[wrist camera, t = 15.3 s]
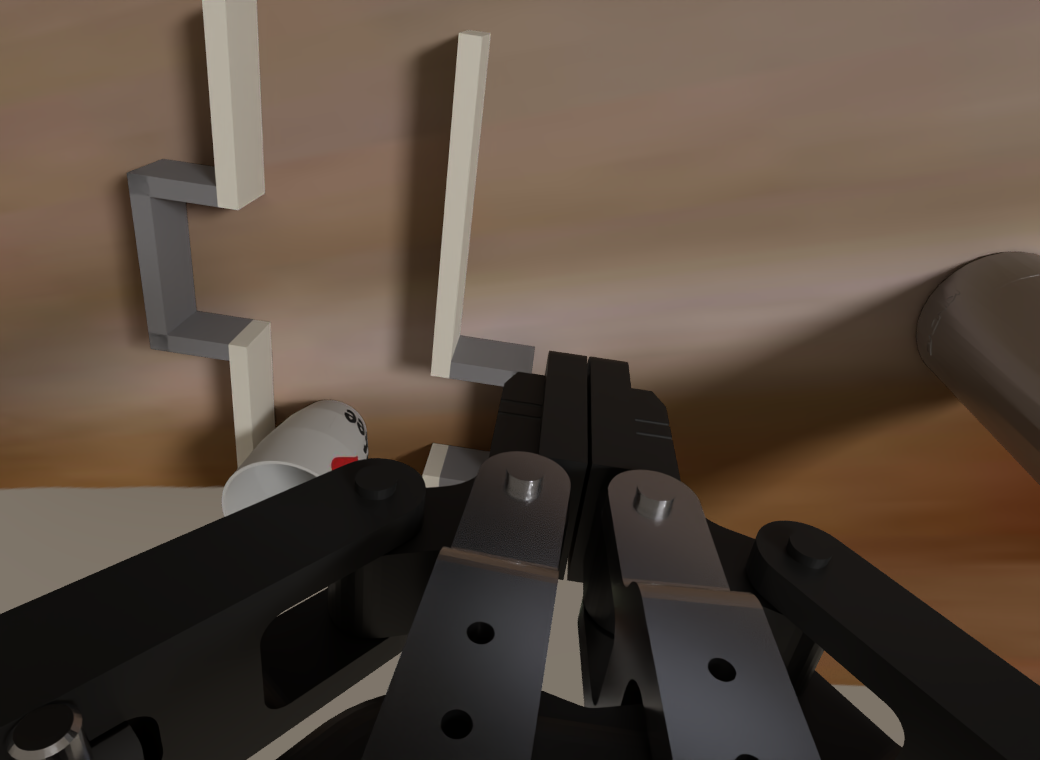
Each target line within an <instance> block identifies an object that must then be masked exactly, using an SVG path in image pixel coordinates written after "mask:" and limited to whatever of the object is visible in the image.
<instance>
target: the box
mask: <svg viewBox="0 0 1040 760" xmlns="http://www.w3.org/2000/svg"><path fill="white" fill-rule="evenodd" d="M202 6H203V19H204V32H205V45H206V58H207V71H208V84H209V97H210V110H211V124H212V137H213V150H214V163H215V167H213V166H206V165H200V164H193V163H187V162H180V161H174V160H167V159H161V160H158V161H156V162H153V163H151V164H148V165H146V166H143V167H140V168H138V169H135V170H133V171H130V172H128V173H127V178H128V186H129V193H130V200H131V208H132V215H133V222H134V229H135V237H136V244H137V251H138V259H139V266H140V273H141V281H142V288H143V295H144V303H145V310H146V317H147V325H148V332H149V339H150V347H151V349H155V350H161V351H168V352H175V353H181V354H188V355H194V356H201V357H207V358H214V359H220V360H227V361H230V373H231V386H232V399H233V412H234V425H235V438H236V452H237V465H238V468H239V467H240V465H241V464H242V463H243V462H244V461H245V460H246V458H247V457H248V456H249V455H250V454H251V452H252V451H253V450H254V449H255V448H256V447H257V445H258V444H259V443H260V442H261V441H262V440H263V439H264V438H265V437H266V436H268V435H269V434H270V433H271V432H272V431H273V430H274V429H275V415H274V392H273V368H272V345H271V322H266V321H259V320H253V319H246V318H240V317H233V316H227V315H220V314H213V313H207V312H200V311H196V301H195V291H194V281H193V270H192V260H191V250H190V240H189V230H188V220H187V209H186V202H188V203H194V204H201V205H207V206H214V207H221V208H227V209H234V210H239V209H241V208H243V207H244V206H246V205H247V204H249V203H251V202H252V201H254V200H255V199H257V198H259V197H260V196H262V195H263V194H265V182H264V158H263V135H262V112H261V88H260V65H259V42H258V19H257V0H202ZM490 36H491V33H487V32H481V31H474V30H467V31H464V32H461V33H459V38H458V50H457V62H456V75H455V87H454V99H453V111H452V123H451V135H450V148H449V160H448V172H447V184H446V196H445V208H444V221H443V233H442V245H441V257H440V269H439V281H438V294H437V306H436V318H435V330H434V342H433V354H432V367H431V376H438V377H444V378H451V379H457V380H464V381H470V382H477V383H483V384H490V385H497V386H503V387H504V383H505V382H506V381H508V380H509V379H510V378H511V377H512V376H513V375H515V374H516V373H517V372H524V373H531V374H532V366H533V358H534V350H535V347H532V346H526V345H519V344H513V343H506V342H500V341H493V340H487V339H480V338H473V337H467V336H460V330H461V320H462V311H463V301H464V291H465V281H466V271H467V262H468V252H469V242H470V232H471V222H472V213H473V203H474V193H475V183H476V173H477V164H478V154H479V144H480V134H481V125H482V115H483V105H484V95H485V85H486V76H487V66H488V56H489V46H490ZM489 454H490V452H489V451H482V450H476V449H469V448H463V447H456V446H449V445H443V444H436V443H433V444H432V447H431V450H430V454H429V457H428V460H427V463H426V466H425V469H424V472H423V476H422V478H423V480H424V482H425V486H426V488H428V487H442V486H451V485H456V484H460V483H463V482H466V481H468V480H470V479H472V478H474V477H476V476H477V473H478V471H479V468H480V467H481V465H482V464H483V463H484V461H486V460H487V459H488V458H489Z"/></svg>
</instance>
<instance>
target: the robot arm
mask: <svg viewBox="0 0 1040 760" xmlns="http://www.w3.org/2000/svg"><path fill="white" fill-rule="evenodd" d="M916 340H917V346H918V351H919V353H920V355H921V357H922V359H923V361H924V362H925V363H926V365H927V366H928V367H929V368H930V369H931V370H932V371H933V372H934V373H935V374H936V375H937V377H938V378H939V379H940V380H941V381H942V382H943V383H944V384H945V385H946V386H947V387H948V388H949V389H950V390H951V392H952V393H953V394H954V395H955V396H956V397H957V398H958V399H959V400H960V401H961V403H962V404H963V405H964V406H965V407H966V408H967V409H968V410H969V411H970V412H971V413H972V414H973V415H974V416H975V417H976V418H977V419H978V420H979V422H980V423H981V424H982V425H983V426H984V427H985V428H986V429H987V430H988V431H989V432H990V433H991V434H992V435H993V436H994V437H995V438H996V439H997V441H998V442H999V443H1000V444H1001V445H1002V446H1003V447H1004V448H1005V449H1006V450H1007V451H1008V452H1009V453H1010V454H1011V455H1012V456H1013V457H1014V458H1015V460H1016V461H1017V462H1018V463H1019V464H1020V465H1021V466H1022V467H1023V468H1024V469H1025V470H1026V471H1027V472H1028V473H1029V474H1030V475H1031V476H1032V477H1033V478H1034V480H1035V481H1036V482H1037V483H1038V484H1039V485H1040V256H1039V255H1037V254H1031V253H1025V252H1003V253H999V254H994V255H990V256H986V257H983V258H981V259H978V260H976V261H973V262H971V263H969V264H967V265H965V266H964V267H962V268H960V269H959V270H957V271H956V272H954V273H953V274H952V275H950V276H949V277H948V278H947V279H946V280H944V281H943V282H942V283H941V284H940V285H939V286H938V287H937V289H936V290H935V291H934V292H933V293H932V295H931V296H930V297H929V299H928V300H927V302H926V304H925V306H924V307H923V309H922V311H921V314H920V318H919V321H918V324H917V333H916ZM671 438H672V435H671V430H670V427H669V420H668V415H667V410H666V407H665V406H664V404H663V403H662V402H661V401H660V400H659V399H658V398H657V396H656V395H655V394H654V393H653V392H652V391H646V390H640V389H633V388H631V382H630V374H629V366H628V362H623V361H617V360H610V359H603V358H596V357H589V359H588V363H587V356H582V355H575V354H569V353H562V352H555V351H549V354H548V359H547V365H546V372H545V375H538V374H531V373H524V372H517V373H516V374H515V375H513V376H512V377H511V378H510V379H509V380H508V381H506V382H505V383H504V387H503V392H502V397H501V402H500V406H499V411H498V416H497V420H496V425H495V430H494V435H493V439H492V444H491V449H490V454H489V458H488V459H487V460H486V461H484V463H483V464H482V465H481V467H480V468H479V471H478V473H477V476H476V477H474V478H472V479H470V480H468V481H466V482H463V483H460V484H456V485H451V486H442V487H428V488H426V486H425V482H424V480H423V478H422V476H421V475H420V474H419V473H418V472H417V471H416V470H415V469H413V468H412V467H410V466H408V465H406V464H404V463H401V462H398V461H395V460H390V459H381V458H371V459H362V460H358V461H354V462H351V463H348V464H346V465H343V466H341V467H339V468H336V469H334V470H332V471H329V472H327V473H325V474H323V475H320V476H318V477H316V478H313V479H311V480H309V481H306V482H304V483H302V484H299V485H297V486H295V487H293V488H290V489H288V490H286V491H283V492H281V493H279V494H276V495H274V496H272V497H269V498H267V499H265V500H263V501H260V502H258V503H256V504H253V505H251V506H249V507H246V508H244V509H242V510H239V511H237V512H235V513H233V514H230V515H228V516H226V517H224V518H221V519H219V520H217V521H214V522H212V523H209V524H207V525H205V526H203V527H200V528H198V529H196V530H193V531H191V532H189V533H187V534H184V535H182V536H180V537H177V538H175V539H173V540H170V541H168V542H166V543H163V544H161V545H159V546H157V547H154V548H152V549H150V550H147V551H145V552H143V553H140V554H138V555H136V556H133V557H131V558H129V559H126V560H124V561H122V562H119V563H117V564H115V565H113V566H110V567H108V568H106V569H103V570H101V571H99V572H96V573H94V574H92V575H89V576H87V577H85V578H83V579H80V580H78V581H76V582H73V583H71V584H69V585H67V586H64V587H62V588H60V589H57V590H55V591H53V592H50V593H48V594H46V595H43V596H41V597H39V598H36V599H34V600H32V601H29V602H27V603H25V604H23V605H20V606H18V607H16V608H13V609H11V610H9V611H6V612H4V613H2V614H0V760H247V759H248V758H249V757H251V756H252V755H254V754H255V753H257V752H258V751H260V750H261V749H262V748H264V747H265V746H267V745H268V744H270V743H271V742H272V741H274V740H275V739H277V738H278V737H280V736H281V735H283V734H284V733H285V732H287V731H288V730H290V729H291V728H293V727H294V726H295V725H297V724H298V723H300V722H301V721H303V720H304V719H305V718H307V717H308V716H310V715H311V714H313V713H314V712H316V711H317V710H319V709H320V708H322V707H323V706H324V705H326V704H327V703H329V702H330V701H331V700H333V699H334V698H336V697H337V696H339V695H340V694H342V693H343V692H345V691H346V690H347V689H349V688H350V687H352V686H353V685H354V684H356V683H357V682H359V681H360V680H362V679H363V678H365V677H366V676H368V675H369V674H370V673H372V672H373V671H375V670H376V669H378V668H379V667H380V666H382V665H383V664H385V663H386V662H388V661H389V660H391V659H392V658H393V657H395V656H396V655H398V654H399V653H400V652H402V653H401V656H400V658H399V661H398V664H397V666H396V669H395V671H394V674H393V677H392V679H391V682H390V685H389V687H388V690H387V693H386V695H383V696H380V697H377V698H374V699H371V700H368V701H365V702H363V703H360V704H358V705H356V706H354V707H351V708H349V709H347V710H345V711H343V712H342V713H340V714H338V715H337V716H335V717H333V718H331V719H330V720H328V721H327V722H325V723H324V724H322V725H321V726H320V727H318V728H317V729H315V730H314V731H313V732H311V733H310V734H309V735H307V736H306V737H305V738H304V739H302V740H301V741H300V742H298V743H297V744H296V745H294V746H293V747H292V748H290V749H289V750H288V751H287V752H285V753H284V754H283V755H281V756H280V757H279V758H277V759H276V760H1040V686H1039V685H1038V684H1036V683H1035V682H1033V681H1032V680H1031V679H1029V678H1028V677H1027V676H1025V675H1024V674H1022V673H1021V672H1020V671H1018V670H1017V669H1016V668H1014V667H1013V666H1011V665H1010V664H1009V663H1007V662H1006V661H1004V660H1003V659H1002V658H1000V657H999V656H998V655H996V654H995V653H993V652H992V651H991V650H989V649H988V648H986V647H985V646H984V645H982V644H981V643H980V642H978V641H977V640H975V639H974V638H973V637H971V636H970V635H968V634H967V633H966V632H964V631H963V630H962V629H960V628H959V627H957V626H956V625H955V624H953V623H952V622H951V621H949V620H948V619H946V618H945V617H944V616H942V615H941V614H939V613H938V612H937V611H935V610H934V609H933V608H931V607H930V606H928V605H927V604H926V603H924V602H923V601H921V600H920V599H919V598H917V597H916V596H915V595H913V594H912V593H910V592H909V591H908V590H906V589H905V588H903V587H902V586H901V585H899V584H898V583H897V582H895V581H894V580H892V579H891V578H890V577H888V576H887V575H886V574H884V573H883V572H881V571H880V570H879V569H877V568H876V567H874V566H873V565H872V564H870V563H869V562H868V561H866V560H865V559H863V558H862V557H861V556H859V555H858V554H856V553H855V552H854V551H852V550H851V549H850V548H848V547H847V546H845V545H844V544H843V543H841V542H840V541H839V540H837V539H836V538H834V537H833V536H831V535H830V534H828V533H826V532H824V531H822V530H820V529H818V528H815V527H813V526H810V525H807V524H804V523H799V522H794V521H775V522H771V523H768V524H766V525H764V526H763V527H762V528H761V529H760V530H759V532H758V534H757V536H756V539H753V538H751V537H748V536H745V535H742V534H740V533H737V532H734V531H732V530H729V529H726V528H724V527H722V526H719V525H717V524H715V523H713V522H711V521H710V520H708V519H707V518H705V516H704V513H703V510H702V507H701V504H700V501H699V499H698V497H697V496H696V495H695V493H694V492H693V491H692V490H691V489H690V488H689V487H688V486H686V485H685V484H684V483H682V482H681V480H680V475H679V470H678V465H677V460H676V455H675V450H674V445H673V440H671ZM567 560H568V575H567V580H569V581H575V582H582V583H583V599H582V603H581V608H580V612H579V616H578V635H579V647H580V659H581V671H582V684H583V695H584V707H583V706H580V705H577V704H575V703H572V702H569V701H567V700H564V699H562V698H559V697H557V696H554V695H552V694H549V693H546V692H544V691H541V690H542V683H543V676H544V670H545V663H546V657H547V650H548V643H549V636H550V630H551V624H552V617H553V610H554V604H555V597H556V590H557V583H558V579H560V580H563V579H564V574H565V569H566V564H567ZM327 586H328V588H327V589H325V590H324V591H322V592H320V593H318V594H316V595H314V596H313V597H311V598H309V599H307V600H306V601H304V602H302V603H300V604H298V605H297V606H295V607H293V608H291V609H290V610H288V611H286V612H284V613H283V614H281V615H279V614H280V613H282V612H283V611H285V610H286V609H288V608H290V607H292V606H293V605H295V604H297V603H299V602H301V601H302V600H304V599H306V598H308V597H310V596H311V595H313V594H315V593H317V592H318V591H320V590H322V589H324V588H326V587H327ZM278 615H279V616H278ZM824 650H825V651H826V652H827V653H828V654H829V655H830V656H832V657H833V658H834V659H835V660H836V661H837V662H839V663H840V664H841V665H842V666H843V667H844V668H845V669H847V670H848V671H849V672H850V673H851V674H852V675H854V676H855V677H856V678H857V679H858V680H859V681H860V682H862V683H863V684H864V685H865V686H866V687H867V688H869V689H870V690H871V691H872V692H873V693H875V694H876V695H877V696H878V697H879V698H880V699H881V700H882V701H884V702H885V703H886V704H887V705H888V706H889V707H890V708H891V709H892V710H893V711H894V713H895V714H896V716H897V717H898V718H899V720H900V722H901V725H902V727H903V730H904V735H905V741H904V746H903V747H901V746H899V745H898V744H897V743H895V742H894V741H893V740H892V739H891V738H890V737H888V736H887V735H886V734H885V733H884V732H883V731H882V730H881V729H880V728H879V727H877V726H876V725H875V724H874V723H873V722H872V721H871V720H870V719H869V718H867V717H866V716H865V715H864V714H863V713H862V712H861V711H860V710H859V709H857V708H856V707H855V706H854V705H853V704H852V703H851V702H850V701H848V700H847V699H846V698H845V697H844V696H843V695H842V694H841V693H840V692H838V691H837V690H836V689H835V688H834V687H833V686H832V685H831V684H830V683H828V682H827V681H826V680H825V679H824V678H823V677H822V676H821V675H820V674H818V673H817V672H816V671H815V668H816V666H817V664H818V662H819V660H820V658H821V656H822V654H823V651H824Z"/></svg>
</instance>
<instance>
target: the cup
mask: <svg viewBox="0 0 1040 760" xmlns="http://www.w3.org/2000/svg"><path fill="white" fill-rule="evenodd" d="M362 459H368V441H367V429H366V425H365V422H364V420H363V419H362V417H361V416H360V414H359V413H358V412H357V411H356V410H355V409H353V408H352V407H350V406H349V405H347V404H345V403H342V402H339V401H335V400H321V401H317V402H315V403H313V404H311V405H309V406H307V407H305V408H303V409H302V410H300V411H298V412H296V413H294V414H292V415H291V416H290V417H288V418H287V419H286V420H285V421H284V422H283V423H281V424H280V425H279V426H278V427H277V428H276V429H274V430H273V431H272V432H271V433H270V434H269V435H268V436H266V437H265V438H264V439H263V440H262V441H261V442H260V443H259V444H258V445H257V447H256V448H255V449H254V450H253V451H252V452H251V454H250V455H249V456H248V457H247V458H246V460H245V461H244V462H243V463H242V464H241V465H240V467H239V468H238V469H237V470H236V471H235V472H234V474H233V475H232V476H231V477H230V478H229V480H228V481H227V483H226V485H225V487H224V489H223V493H222V510H223V514H224V517H226V516H228V515H230V514H233V513H235V512H237V511H239V510H242V509H244V508H246V507H249V506H251V505H253V504H256V503H258V502H260V501H263V500H265V499H267V498H269V497H272V496H274V495H276V494H279V493H281V492H283V491H286V490H288V489H290V488H293V487H295V486H297V485H299V484H302V483H304V482H306V481H309V480H311V479H313V478H316V477H318V476H320V475H323V474H325V473H327V472H329V471H332V470H334V469H336V468H339V467H341V466H343V465H346V464H348V463H351V462H354V461H358V460H362Z"/></svg>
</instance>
